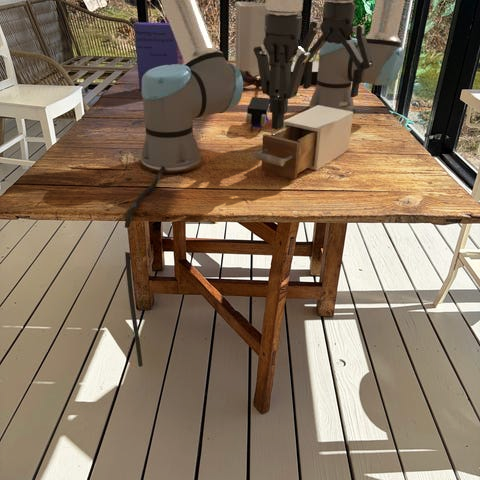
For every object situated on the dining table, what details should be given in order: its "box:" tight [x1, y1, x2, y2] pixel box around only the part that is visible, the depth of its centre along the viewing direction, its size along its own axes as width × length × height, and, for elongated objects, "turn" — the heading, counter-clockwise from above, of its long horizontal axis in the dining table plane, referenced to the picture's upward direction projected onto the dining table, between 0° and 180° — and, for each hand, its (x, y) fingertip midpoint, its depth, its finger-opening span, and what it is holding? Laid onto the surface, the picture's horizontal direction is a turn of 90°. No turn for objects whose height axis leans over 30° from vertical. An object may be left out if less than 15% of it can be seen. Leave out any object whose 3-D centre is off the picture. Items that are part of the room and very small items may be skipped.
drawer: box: [251, 126, 318, 180], centre depth 117 cm, size 23×10×9 cm, turn 144°
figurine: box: [239, 69, 262, 88], centre depth 190 cm, size 24×8×30 cm
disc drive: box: [290, 61, 319, 85], centre depth 207 cm, size 18×22×5 cm
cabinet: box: [282, 105, 354, 171], centre depth 127 cm, size 19×11×11 cm, turn 144°
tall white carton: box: [234, 1, 270, 77], centre depth 210 cm, size 19×15×28 cm
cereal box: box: [133, 21, 184, 91], centre depth 182 cm, size 17×5×24 cm, turn 86°
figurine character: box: [245, 96, 270, 132], centre depth 148 cm, size 7×8×15 cm
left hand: (277, 127), depth 108 cm, fingers closed
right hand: (329, 92), depth 124 cm, fingers open, 13 cm apart
